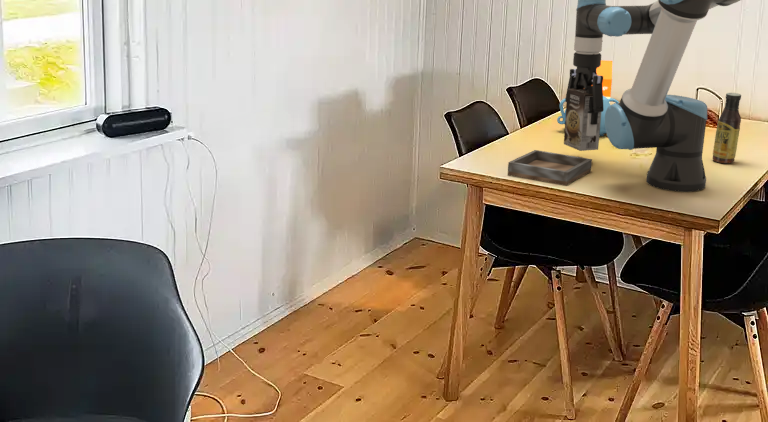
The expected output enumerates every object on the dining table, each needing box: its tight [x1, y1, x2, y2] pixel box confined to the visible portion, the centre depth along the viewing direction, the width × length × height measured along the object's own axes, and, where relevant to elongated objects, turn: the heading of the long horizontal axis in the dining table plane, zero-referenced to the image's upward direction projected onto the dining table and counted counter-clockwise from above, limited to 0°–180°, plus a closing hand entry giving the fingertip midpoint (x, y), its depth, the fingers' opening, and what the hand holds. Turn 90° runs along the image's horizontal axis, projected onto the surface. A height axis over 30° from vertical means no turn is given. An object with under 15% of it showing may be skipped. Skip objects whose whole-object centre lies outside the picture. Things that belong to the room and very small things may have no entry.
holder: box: [507, 149, 593, 186], centre depth 271 cm, size 17×17×4 cm
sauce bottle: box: [712, 92, 742, 164], centre depth 284 cm, size 7×6×20 cm
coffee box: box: [563, 89, 601, 152], centre depth 282 cm, size 9×6×16 cm
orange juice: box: [596, 59, 613, 104], centre depth 336 cm, size 8×9×20 cm
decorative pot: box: [556, 96, 620, 137], centre depth 317 cm, size 16×16×14 cm
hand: (581, 132), depth 283 cm, fingers closed on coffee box, 9 cm apart
